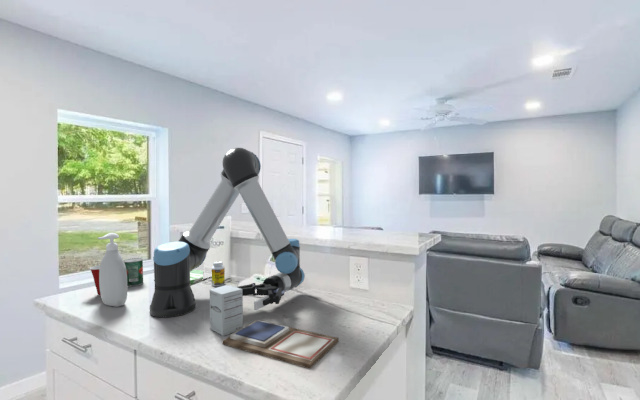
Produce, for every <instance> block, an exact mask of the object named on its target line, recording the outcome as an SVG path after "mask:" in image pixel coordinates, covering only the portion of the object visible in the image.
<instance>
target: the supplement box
mask: <svg viewBox="0 0 640 400" xmlns="http://www.w3.org/2000/svg"><path fill="white" fill-rule="evenodd" d="M243 298H244V296H243V293H242V289H241V288H238V286H234V285H231V284H224V285H222V286H216V287H214V288H213V287H212V288H210V289H209V324H210V325H209V327H210V328H209V329H210V330H211V331H213V332H215V333H217V334H219V335H221V336H222V337H224V336H227V335H231V334H233V333H235V332H236V331H238V330H240V329H242V328H244V315H243V314H244V312H243V311H244V310H243V308H244V307H243V306H244V303H243V301H244V300H243Z"/></svg>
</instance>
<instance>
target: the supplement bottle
mask: <svg viewBox="0 0 640 400" xmlns="http://www.w3.org/2000/svg"><path fill="white" fill-rule="evenodd" d="M225 271H226V270H225V266H224V265H223V261H220V260H219V262H217V261H214V262H213V266H212V267H211V272H212V278H211V286H212V287H221V286H225V285H226V281H225V279H226V278H225V277H226V276H225V274H226V273H225Z"/></svg>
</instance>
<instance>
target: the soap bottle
mask: <svg viewBox="0 0 640 400" xmlns="http://www.w3.org/2000/svg"><path fill="white" fill-rule="evenodd" d="M117 238H120V235H119V234H118V233H115V232H108V233H107V234H104V235H103V236H99V237H97V239H98V240H107V239H108V240H109V242H108V243H107V244H106V245H105V248H106V249H105V250H106V251H105V254H104V255H103V257H102V258H101V261H100V263H99V264H100V270H99V287H100V295H101V296H100V297H101V301H102V303H103V304H104V305H106V306H109V307H115V308H116V307H122V306H124V305H125V304H126V301H127V299H128V286H127V271H126V266H125V263H124V260H125V259H123V256H122V255H121V253H120V252H119V249H118V248H119V246H118V243H117V242H114V239H117Z"/></svg>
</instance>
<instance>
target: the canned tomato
mask: <svg viewBox="0 0 640 400" xmlns="http://www.w3.org/2000/svg"><path fill="white" fill-rule="evenodd" d="M123 260H124V263H125V266H126V271H127V287H136V286H137V287H138V286H141V285H143V284H144V268H143V267H144V266H143V265H144V264H143V263H144V262H143V258H141V257H140V258H139V257H137V258H135V257H134V258H128V259H123Z"/></svg>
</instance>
